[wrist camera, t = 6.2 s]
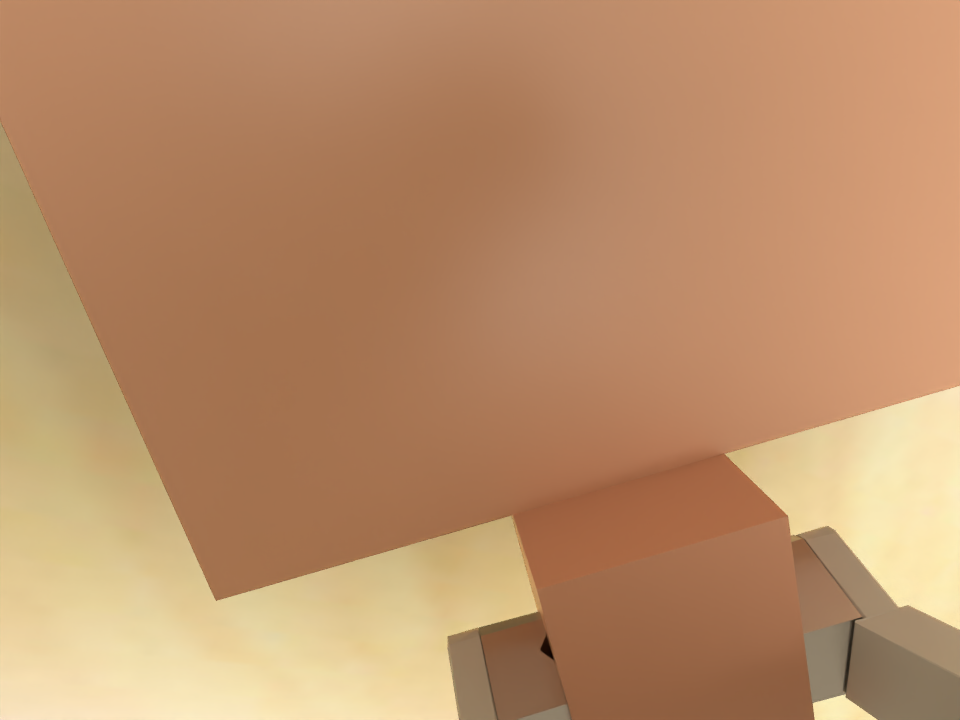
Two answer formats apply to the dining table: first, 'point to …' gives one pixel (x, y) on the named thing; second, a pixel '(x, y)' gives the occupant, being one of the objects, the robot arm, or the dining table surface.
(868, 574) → the robot arm
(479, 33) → the lid
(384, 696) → the dining table surface
